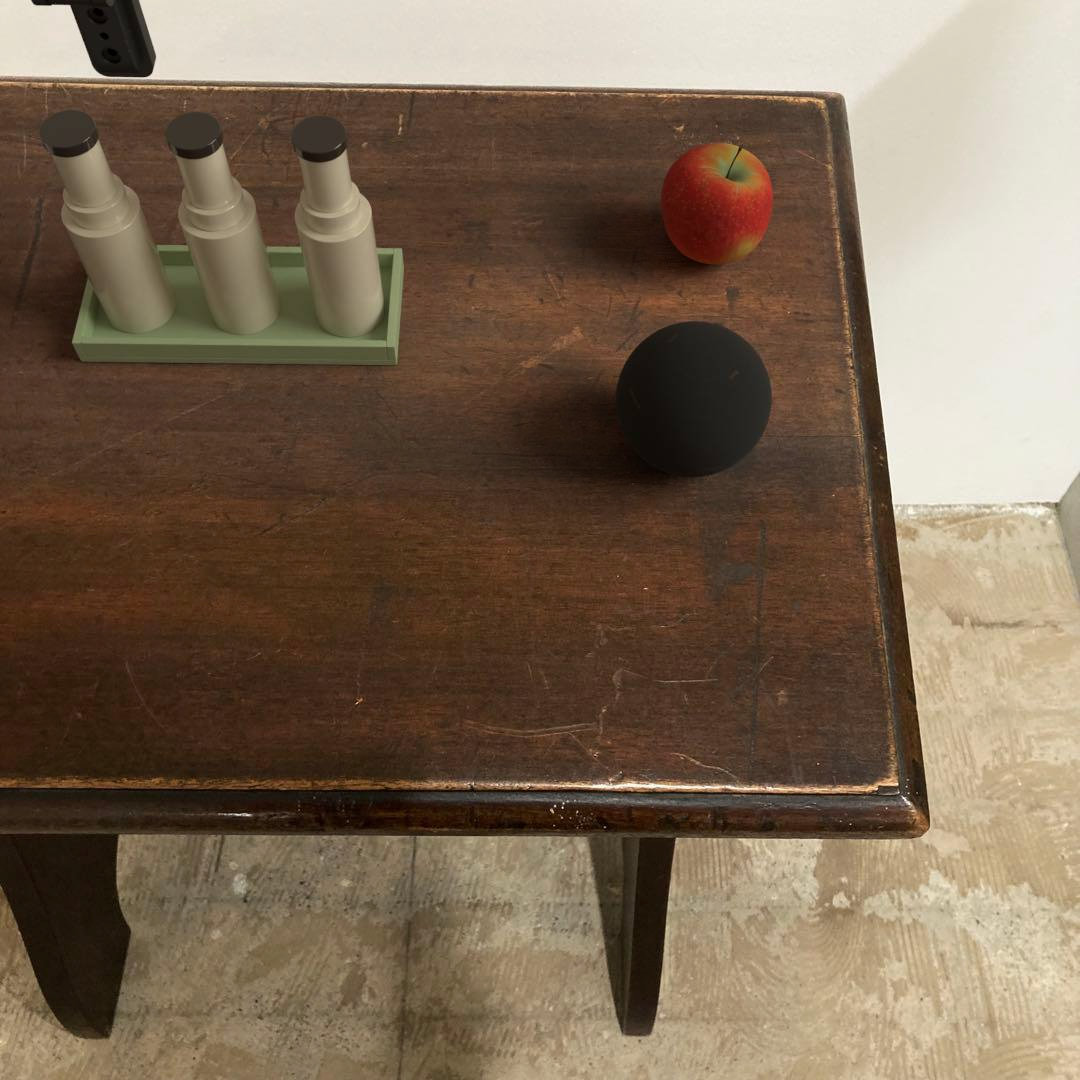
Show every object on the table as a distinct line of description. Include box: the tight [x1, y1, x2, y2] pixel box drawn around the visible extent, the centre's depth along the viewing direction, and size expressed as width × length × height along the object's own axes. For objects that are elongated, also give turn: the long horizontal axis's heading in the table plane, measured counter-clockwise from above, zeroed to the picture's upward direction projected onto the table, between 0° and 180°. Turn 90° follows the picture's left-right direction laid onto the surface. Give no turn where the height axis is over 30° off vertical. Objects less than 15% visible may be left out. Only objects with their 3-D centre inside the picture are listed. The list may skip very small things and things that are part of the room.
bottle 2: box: [164, 111, 281, 335], centre depth 76 cm, size 5×5×16 cm
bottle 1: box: [38, 109, 176, 333], centre depth 76 cm, size 5×5×16 cm
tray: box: [71, 244, 405, 366], centre depth 82 cm, size 22×9×2 cm, turn 90°
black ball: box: [615, 320, 773, 478], centre depth 74 cm, size 10×10×10 cm
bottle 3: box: [290, 114, 385, 337], centre depth 76 cm, size 5×5×16 cm
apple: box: [660, 142, 774, 266], centre depth 83 cm, size 8×8×10 cm
